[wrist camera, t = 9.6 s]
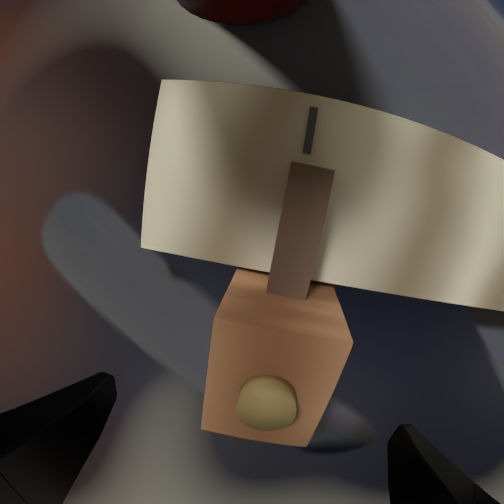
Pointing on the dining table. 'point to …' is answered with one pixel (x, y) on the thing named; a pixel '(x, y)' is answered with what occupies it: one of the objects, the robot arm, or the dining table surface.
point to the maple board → (341, 197)
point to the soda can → (240, 9)
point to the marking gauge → (279, 331)
